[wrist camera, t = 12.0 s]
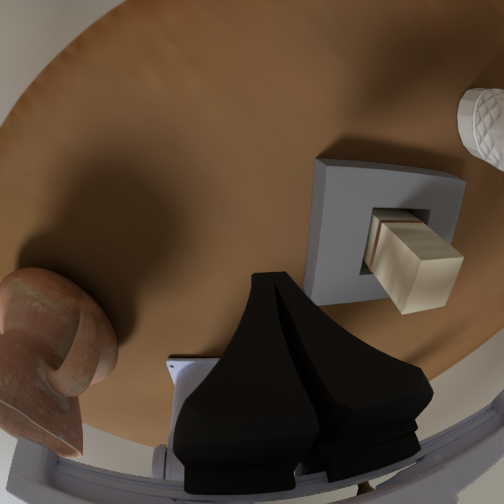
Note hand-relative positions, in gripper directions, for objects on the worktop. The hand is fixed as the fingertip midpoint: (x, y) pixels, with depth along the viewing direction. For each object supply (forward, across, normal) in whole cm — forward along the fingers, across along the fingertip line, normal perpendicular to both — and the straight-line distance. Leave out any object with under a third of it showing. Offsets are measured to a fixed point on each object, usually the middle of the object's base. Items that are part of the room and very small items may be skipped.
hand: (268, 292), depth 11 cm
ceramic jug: (+10, +19, +10) cm, 24 cm away
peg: (+10, -11, +2) cm, 15 cm away
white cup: (+10, -21, -9) cm, 25 cm away
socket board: (+10, -11, +2) cm, 15 cm away
